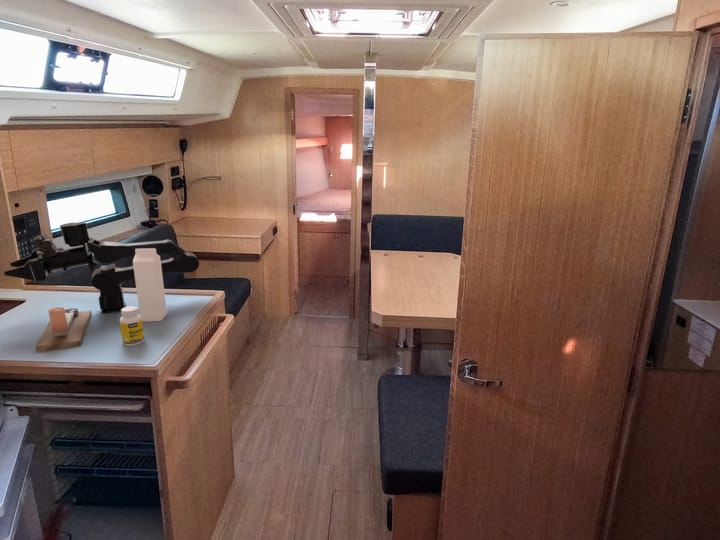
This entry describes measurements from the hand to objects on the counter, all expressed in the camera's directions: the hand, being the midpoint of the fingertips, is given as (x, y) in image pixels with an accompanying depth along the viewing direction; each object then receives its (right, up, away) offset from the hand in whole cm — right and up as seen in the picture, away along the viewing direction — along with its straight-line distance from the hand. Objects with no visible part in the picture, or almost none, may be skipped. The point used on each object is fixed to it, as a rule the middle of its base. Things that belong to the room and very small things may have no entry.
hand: (7, 269), depth 133 cm
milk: (+39, -15, +9) cm, 42 cm away
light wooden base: (+18, -18, -2) cm, 26 cm away
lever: (+18, -16, -1) cm, 24 cm away
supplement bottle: (+41, -20, -8) cm, 46 cm away
